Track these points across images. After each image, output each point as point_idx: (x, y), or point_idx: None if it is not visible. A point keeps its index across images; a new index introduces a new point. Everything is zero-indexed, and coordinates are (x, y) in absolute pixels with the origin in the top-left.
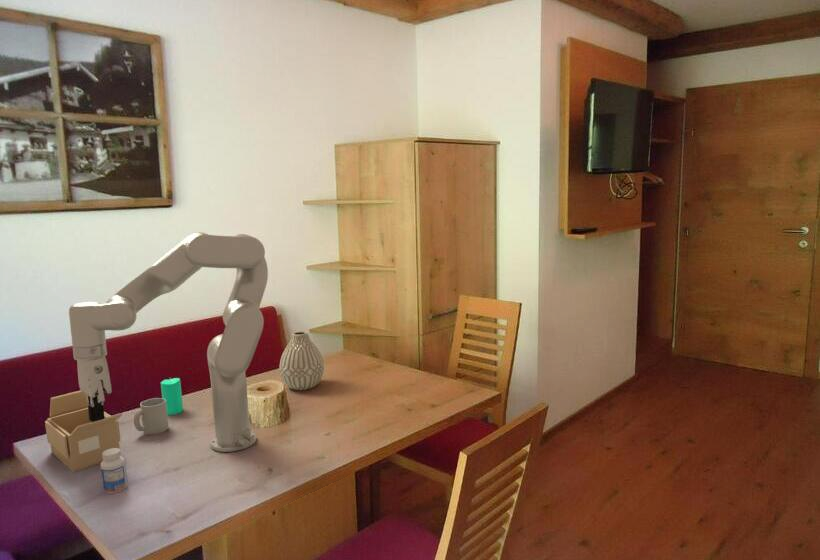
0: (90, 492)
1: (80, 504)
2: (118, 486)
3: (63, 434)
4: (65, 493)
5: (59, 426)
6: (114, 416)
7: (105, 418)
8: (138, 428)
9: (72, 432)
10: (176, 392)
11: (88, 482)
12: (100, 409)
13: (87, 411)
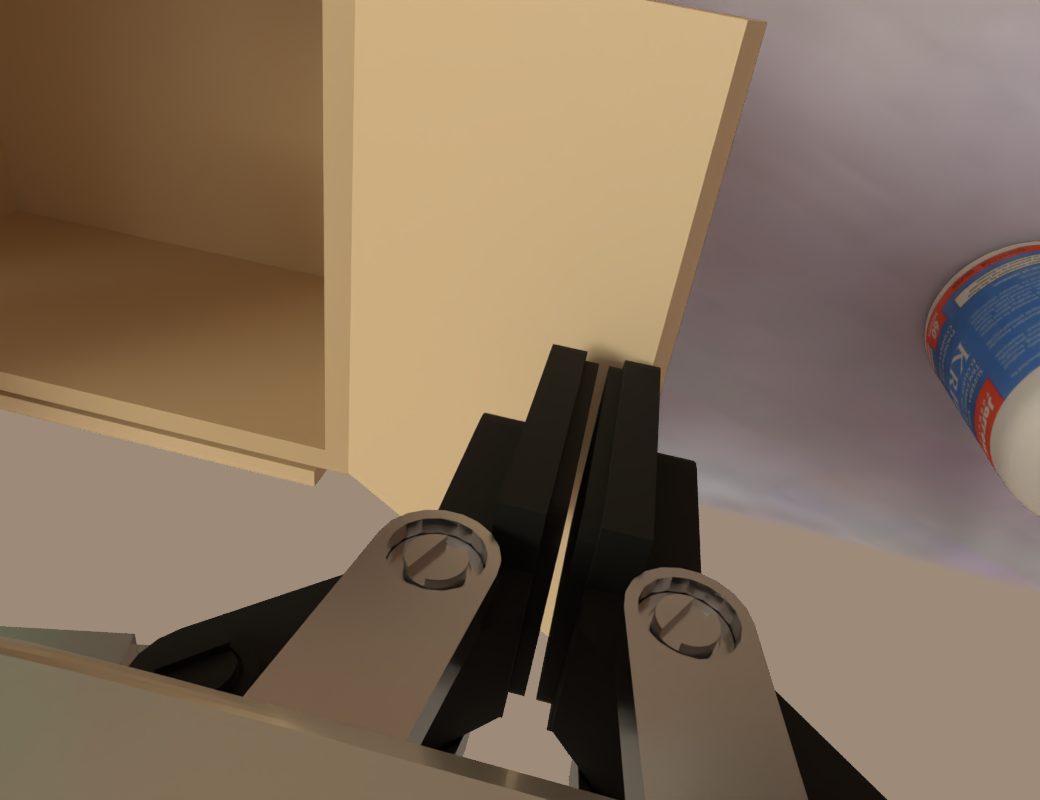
0: (862, 427)
1: (939, 531)
2: None
3: (256, 461)
4: (709, 491)
5: (22, 380)
6: (713, 188)
7: (661, 343)
8: None
9: (386, 496)
10: None
11: (710, 355)
12: (691, 559)
13: None
